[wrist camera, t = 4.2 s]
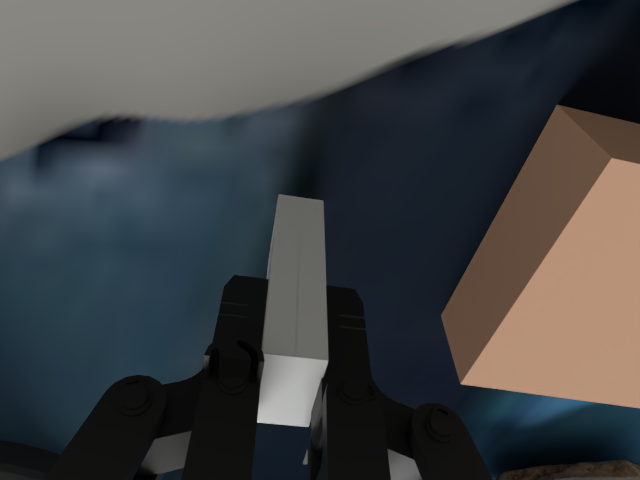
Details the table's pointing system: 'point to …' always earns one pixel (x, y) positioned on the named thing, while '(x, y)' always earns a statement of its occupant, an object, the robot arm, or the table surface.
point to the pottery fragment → (578, 471)
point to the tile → (559, 271)
